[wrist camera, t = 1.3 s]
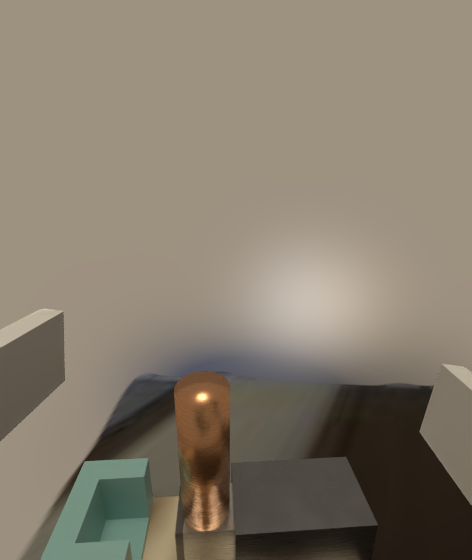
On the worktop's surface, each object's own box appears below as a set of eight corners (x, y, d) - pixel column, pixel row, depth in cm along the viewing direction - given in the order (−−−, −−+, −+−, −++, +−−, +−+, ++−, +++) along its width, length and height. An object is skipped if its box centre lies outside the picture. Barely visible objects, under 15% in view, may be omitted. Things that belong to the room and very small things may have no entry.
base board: (331, 494, 34) (332, 486, 34) (375, 616, 25) (378, 607, 24) (96, 509, 33) (94, 501, 32) (48, 645, 23) (45, 636, 23)
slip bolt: (334, 507, 31) (354, 365, 26) (351, 555, 27) (379, 399, 22) (182, 516, 30) (172, 372, 25) (177, 568, 26) (164, 408, 21)
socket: (153, 501, 32) (148, 458, 30) (130, 621, 24) (122, 571, 22) (93, 505, 32) (84, 461, 30) (47, 628, 23) (32, 578, 21)
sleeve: (338, 504, 32) (346, 456, 30) (366, 578, 26) (377, 525, 24) (231, 511, 31) (231, 463, 29) (235, 588, 26) (235, 534, 24)
